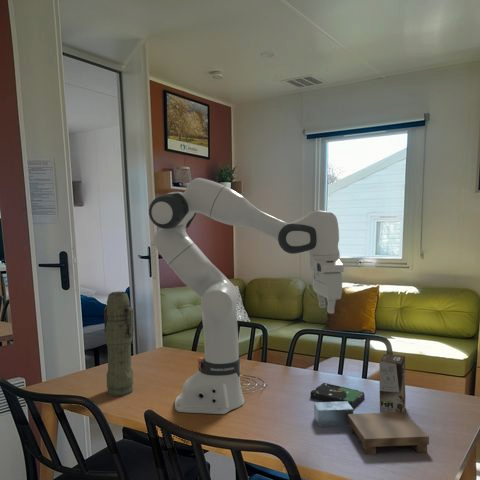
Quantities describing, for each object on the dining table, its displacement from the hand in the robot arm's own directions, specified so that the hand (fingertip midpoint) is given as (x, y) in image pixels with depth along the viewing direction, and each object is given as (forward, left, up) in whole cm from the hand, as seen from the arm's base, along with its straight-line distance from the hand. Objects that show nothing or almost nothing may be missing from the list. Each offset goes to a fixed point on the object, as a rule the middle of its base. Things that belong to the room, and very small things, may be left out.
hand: (326, 310), depth 124 cm
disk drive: (+6, +11, -32) cm, 35 cm away
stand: (+11, -17, -31) cm, 37 cm away
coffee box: (+20, 0, -32) cm, 38 cm away
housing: (0, -6, -32) cm, 32 cm away
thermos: (-68, +23, -32) cm, 78 cm away
